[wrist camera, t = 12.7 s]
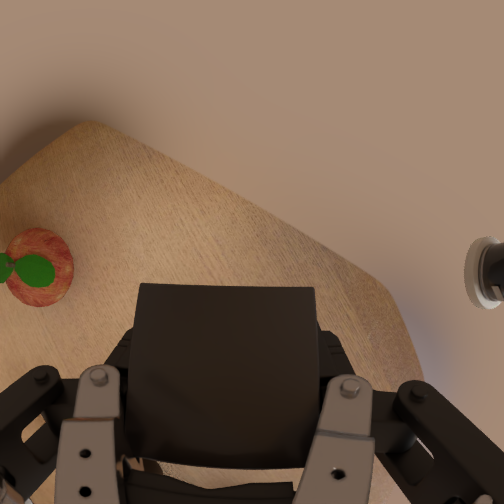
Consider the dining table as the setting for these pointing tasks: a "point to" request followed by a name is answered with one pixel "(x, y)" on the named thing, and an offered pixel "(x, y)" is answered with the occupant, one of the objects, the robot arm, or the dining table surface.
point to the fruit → (37, 267)
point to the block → (223, 376)
